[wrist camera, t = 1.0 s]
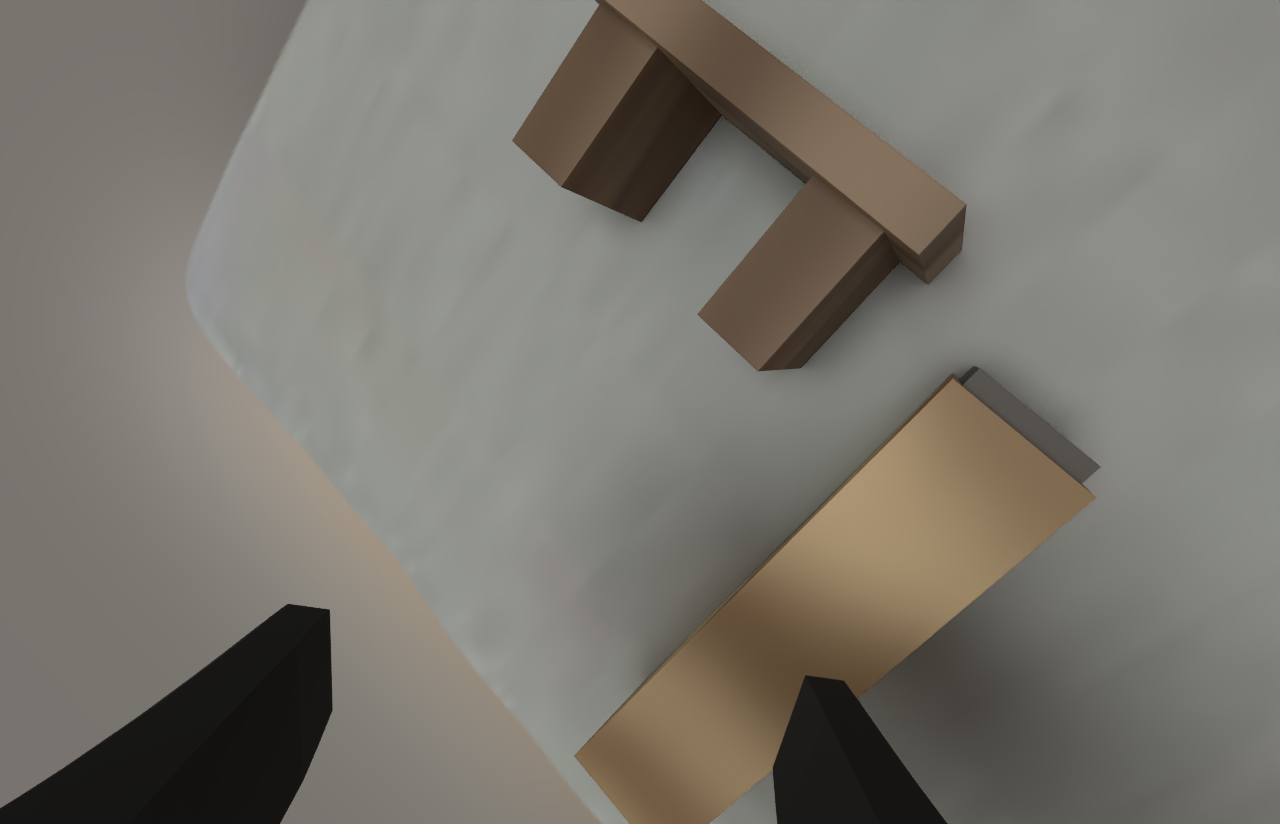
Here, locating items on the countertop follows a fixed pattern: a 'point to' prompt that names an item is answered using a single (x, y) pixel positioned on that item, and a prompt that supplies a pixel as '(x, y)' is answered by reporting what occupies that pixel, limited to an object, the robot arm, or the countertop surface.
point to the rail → (843, 597)
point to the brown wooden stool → (776, 121)
